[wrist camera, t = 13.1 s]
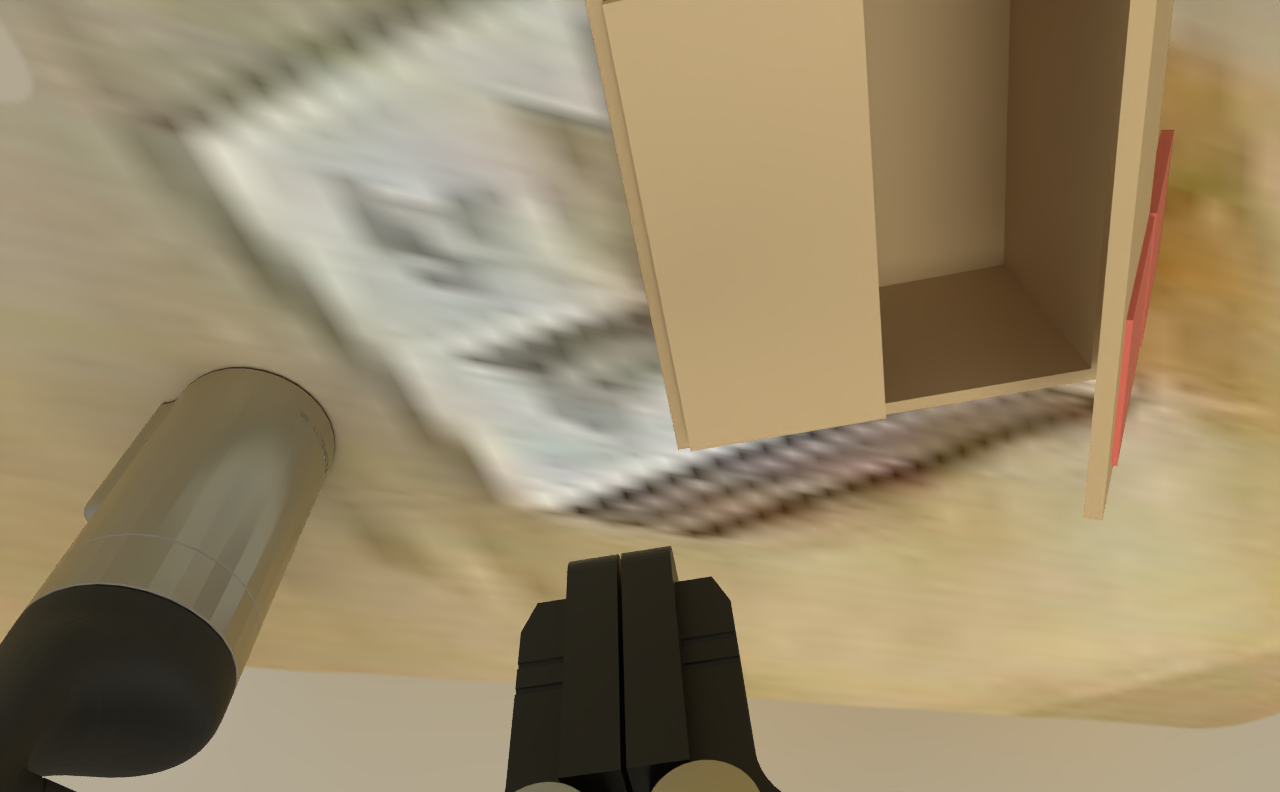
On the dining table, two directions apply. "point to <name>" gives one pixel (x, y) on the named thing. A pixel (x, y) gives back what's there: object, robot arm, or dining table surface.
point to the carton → (863, 199)
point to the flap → (1130, 237)
